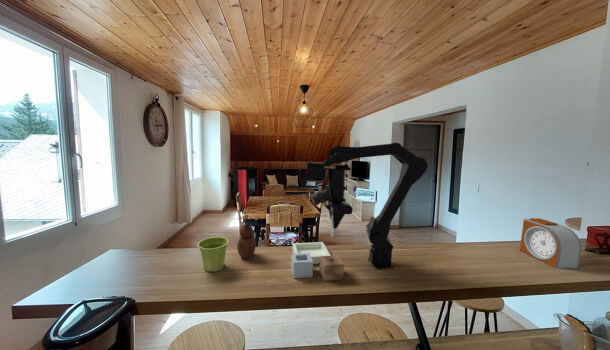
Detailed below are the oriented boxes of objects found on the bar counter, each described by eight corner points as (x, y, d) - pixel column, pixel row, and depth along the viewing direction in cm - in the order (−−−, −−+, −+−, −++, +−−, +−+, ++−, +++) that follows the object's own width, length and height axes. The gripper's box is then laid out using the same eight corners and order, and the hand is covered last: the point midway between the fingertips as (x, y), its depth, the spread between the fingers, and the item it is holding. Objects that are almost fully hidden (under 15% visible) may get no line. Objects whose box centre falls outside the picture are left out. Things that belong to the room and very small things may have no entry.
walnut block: (337, 269, 79) (337, 254, 79) (343, 279, 74) (343, 263, 73) (319, 271, 78) (319, 256, 78) (324, 281, 73) (324, 265, 72)
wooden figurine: (250, 261, 84) (250, 219, 82) (235, 259, 85) (234, 218, 83) (258, 252, 90) (257, 214, 89) (243, 251, 92) (243, 213, 90)
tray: (322, 248, 95) (322, 242, 95) (330, 262, 84) (330, 255, 83) (292, 250, 93) (292, 243, 93) (296, 265, 82) (296, 257, 81)
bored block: (309, 267, 80) (309, 252, 80) (312, 276, 75) (312, 261, 74) (291, 268, 79) (291, 254, 79) (293, 278, 74) (293, 262, 73)
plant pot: (234, 267, 79) (234, 242, 78) (206, 278, 73) (205, 251, 72) (220, 258, 86) (220, 234, 85) (193, 267, 79) (192, 242, 78)
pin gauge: (336, 234, 86) (337, 209, 85) (338, 236, 84) (339, 211, 82) (329, 234, 85) (330, 209, 84) (331, 236, 83) (332, 211, 82)
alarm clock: (516, 249, 97) (520, 216, 96) (536, 249, 98) (541, 217, 96) (555, 268, 83) (560, 229, 81) (578, 268, 83) (585, 230, 81)
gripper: (308, 178, 90) (307, 219, 92) (318, 187, 72) (316, 237, 74) (337, 179, 92) (335, 218, 94) (354, 187, 73) (351, 236, 75)
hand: (334, 227), depth 84 cm, fingers closed on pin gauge, 2 cm apart
